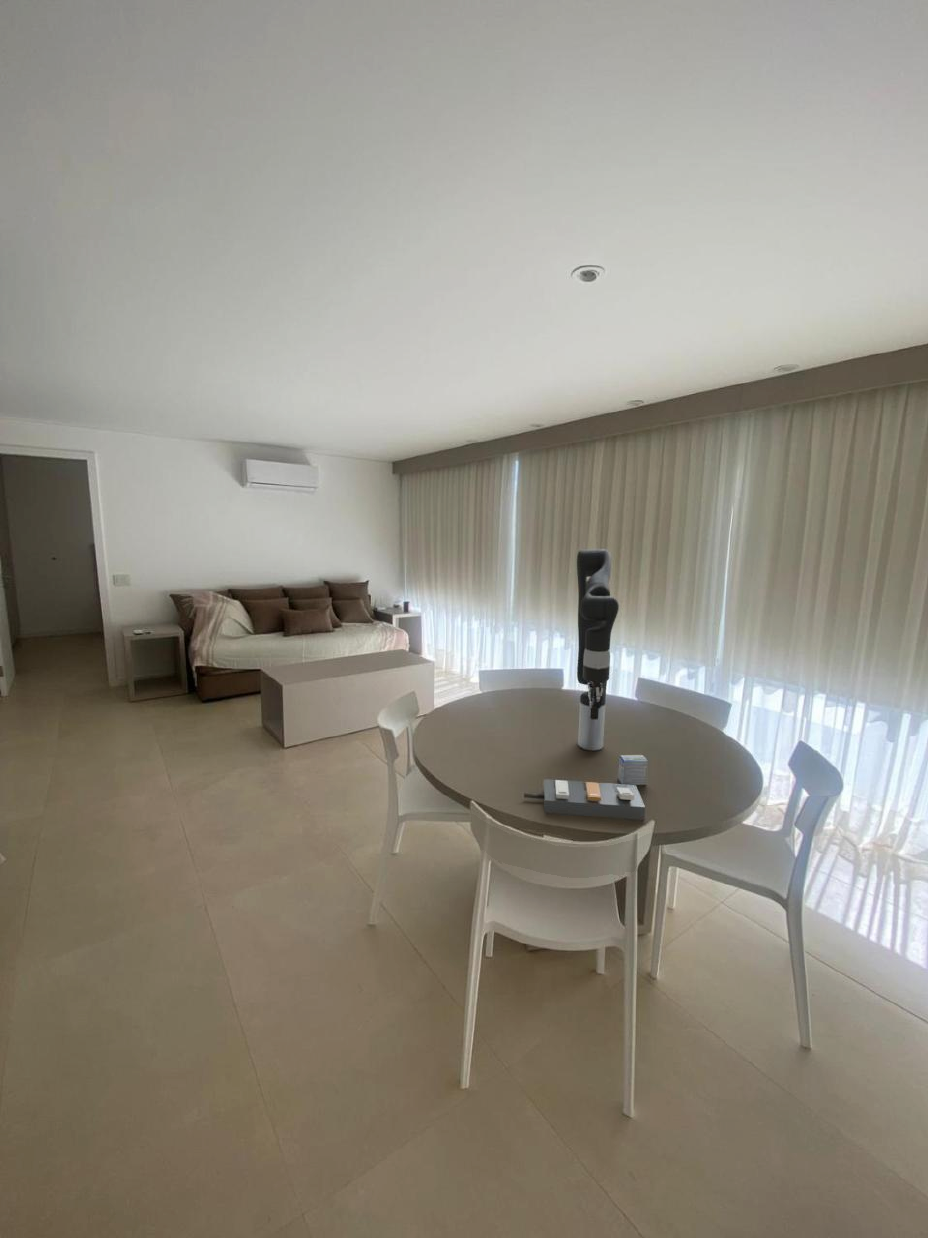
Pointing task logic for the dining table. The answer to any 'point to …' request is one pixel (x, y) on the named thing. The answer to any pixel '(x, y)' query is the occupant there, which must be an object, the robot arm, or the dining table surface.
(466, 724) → the dining table surface
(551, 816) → the dining table surface
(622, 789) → the rocker
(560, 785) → the plate
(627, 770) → the medicine box
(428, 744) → the dining table surface
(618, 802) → the power strip
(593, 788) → the rocker
